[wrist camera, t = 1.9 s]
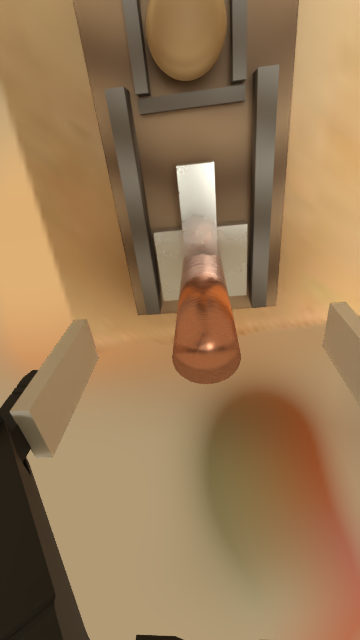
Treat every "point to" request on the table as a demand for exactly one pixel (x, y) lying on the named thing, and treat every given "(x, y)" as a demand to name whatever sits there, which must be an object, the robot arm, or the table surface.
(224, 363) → the lever handle
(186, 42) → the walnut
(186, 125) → the base
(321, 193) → the table surface
